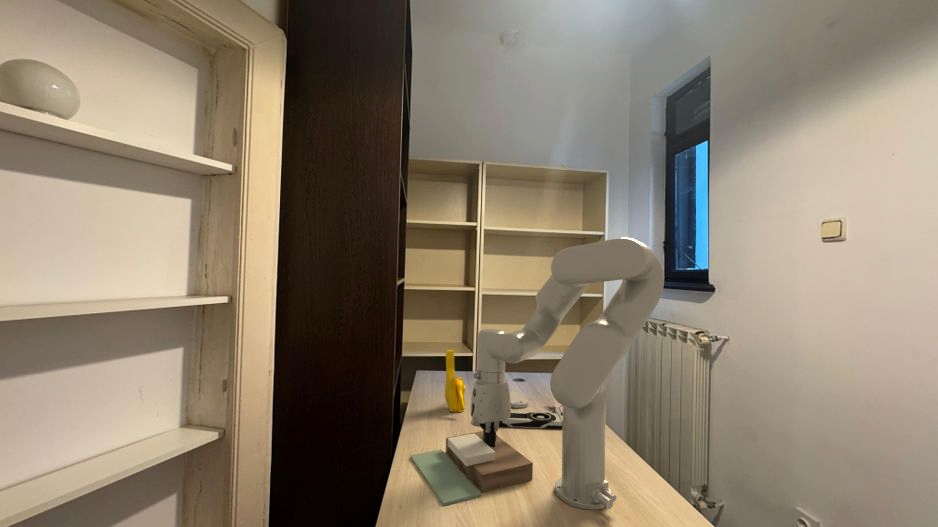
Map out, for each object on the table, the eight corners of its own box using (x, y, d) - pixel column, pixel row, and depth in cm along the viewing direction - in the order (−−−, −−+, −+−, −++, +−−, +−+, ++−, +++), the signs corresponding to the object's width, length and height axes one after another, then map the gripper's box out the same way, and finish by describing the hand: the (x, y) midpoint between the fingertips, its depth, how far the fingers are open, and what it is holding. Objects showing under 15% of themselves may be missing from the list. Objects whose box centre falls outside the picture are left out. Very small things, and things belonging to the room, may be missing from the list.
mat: (480, 496, 87) (480, 493, 87) (443, 505, 83) (443, 503, 83) (441, 451, 108) (441, 449, 108) (410, 457, 104) (410, 455, 104)
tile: (495, 460, 95) (495, 451, 95) (466, 466, 92) (466, 457, 92) (474, 440, 106) (474, 433, 106) (447, 445, 103) (447, 438, 103)
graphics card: (487, 408, 135) (558, 411, 134) (487, 418, 135) (558, 421, 134) (487, 419, 125) (564, 422, 124) (486, 429, 125) (563, 432, 124)
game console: (531, 402, 145) (511, 403, 143) (531, 408, 145) (511, 410, 143) (514, 388, 163) (496, 389, 161) (514, 394, 163) (496, 395, 161)
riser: (532, 479, 94) (532, 462, 94) (482, 492, 88) (482, 475, 88) (489, 443, 114) (489, 429, 114) (445, 452, 108) (446, 437, 108)
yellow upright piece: (469, 418, 134) (470, 354, 134) (446, 419, 132) (448, 355, 133) (461, 401, 151) (462, 345, 152) (442, 402, 150) (443, 345, 150)
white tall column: (567, 390, 149) (579, 413, 124) (567, 406, 149) (580, 431, 124) (551, 390, 149) (561, 412, 125) (551, 405, 149) (561, 431, 124)
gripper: (471, 382, 96) (470, 456, 95) (522, 377, 102) (521, 446, 101) (459, 375, 102) (458, 444, 102) (507, 370, 109) (506, 435, 108)
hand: (489, 445), depth 102 cm, fingers closed
